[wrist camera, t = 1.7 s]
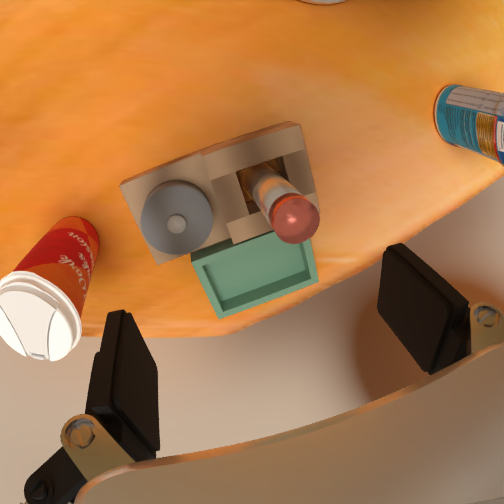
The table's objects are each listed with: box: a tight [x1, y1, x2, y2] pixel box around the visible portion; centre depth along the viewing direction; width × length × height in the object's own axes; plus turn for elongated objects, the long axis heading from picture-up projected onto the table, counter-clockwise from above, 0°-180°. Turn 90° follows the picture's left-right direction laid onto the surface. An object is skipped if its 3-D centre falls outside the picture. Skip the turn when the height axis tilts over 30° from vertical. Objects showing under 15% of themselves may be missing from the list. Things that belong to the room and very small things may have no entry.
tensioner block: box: [119, 121, 320, 265], centre depth 29 cm, size 17×9×4 cm, turn 106°
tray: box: [191, 230, 319, 319], centre depth 34 cm, size 12×8×2 cm, turn 106°
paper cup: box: [0, 216, 99, 361], centre depth 24 cm, size 8×8×14 cm
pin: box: [242, 162, 320, 244], centre depth 26 cm, size 3×3×12 cm
